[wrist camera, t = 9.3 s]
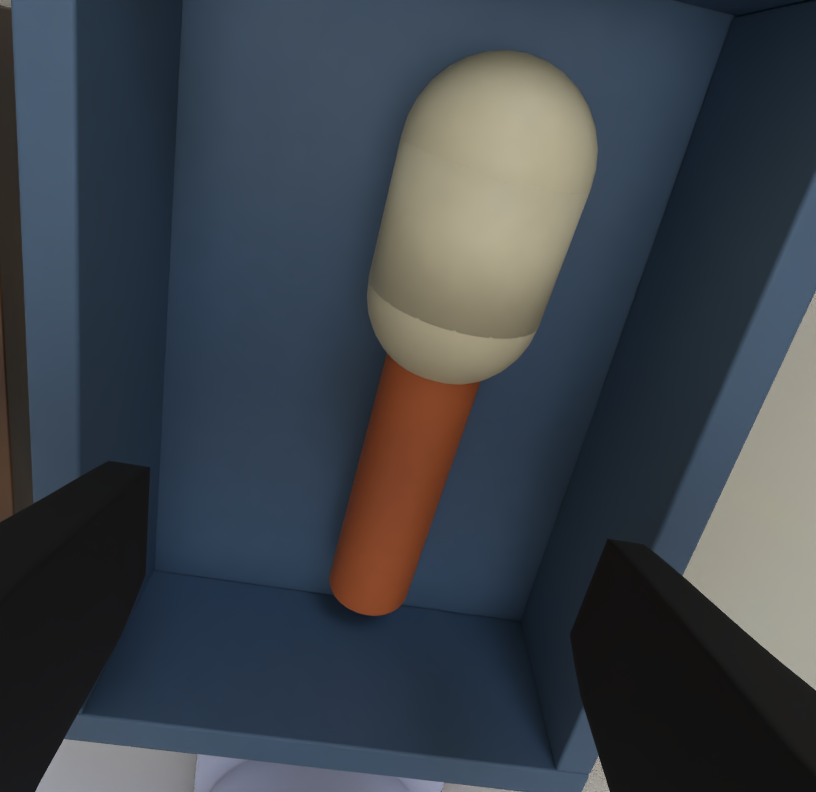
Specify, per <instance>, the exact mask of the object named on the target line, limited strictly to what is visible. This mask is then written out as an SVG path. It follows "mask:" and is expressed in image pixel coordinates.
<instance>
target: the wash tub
mask: <svg viewBox="0 0 816 792" xmlns="http://www.w3.org/2000/svg"><path fill="white" fill-rule="evenodd" d="M11 9H12V32H13V54H14V77H15V100H16V122H17V145H18V167H19V190H20V213H21V235H22V258H23V280H24V303H25V326H26V348H27V371H28V393H29V416H30V439H31V461H32V484H33V503H35V502H37V501H39V500H41V499H42V498H44V497H46V496H48V495H49V494H51V493H53V492H54V491H56V490H58V489H60V488H61V487H63V486H65V485H66V484H68V483H70V482H72V481H73V480H75V479H77V478H78V477H80V476H82V475H84V474H85V473H87V472H89V471H91V470H92V469H94V468H96V467H98V466H100V465H102V464H103V463H105V462H107V461H114V462H120V463H127V464H133V465H140V466H146V467H150V485H149V508H148V531H147V553H146V575H145V578H144V580H143V583H142V585H141V588H140V590H139V593H138V595H137V598H136V601H135V603H134V606H133V608H132V611H131V613H130V615H129V618H128V620H127V623H126V625H125V627H124V630H123V632H122V635H121V637H120V638H119V640H118V642H117V644H116V646H115V648H114V650H113V651H112V653H111V655H110V657H109V659H108V660H107V662H106V664H105V666H104V668H103V670H102V671H101V673H100V675H99V677H98V679H97V680H96V682H95V684H94V686H93V688H92V689H91V691H90V693H89V695H88V697H87V698H86V700H85V702H84V704H83V706H82V707H81V709H80V711H79V713H78V714H77V716H76V718H75V720H74V722H73V723H72V725H71V727H70V729H69V731H68V732H67V734H66V736H65V738H64V739H70V740H79V741H87V742H96V743H105V744H114V745H122V746H131V747H140V748H148V749H157V750H166V751H175V752H183V753H192V754H201V755H209V756H218V757H227V758H235V759H244V760H253V761H262V762H270V763H279V764H288V765H296V766H305V767H314V768H323V769H331V770H340V771H349V772H357V773H366V774H375V775H383V776H392V777H401V778H410V779H418V780H427V781H436V782H444V783H453V784H462V785H470V786H479V787H488V788H497V789H505V790H514V791H523V792H582V790H583V788H584V785H585V783H586V781H587V779H588V776H589V773H590V772H591V770H592V768H593V766H594V764H595V762H596V759H597V757H598V752H597V749H596V746H595V742H594V739H593V736H592V733H591V729H590V726H589V723H588V720H587V716H586V713H585V710H584V706H583V703H582V700H581V696H580V691H579V686H578V681H577V676H576V670H575V665H574V658H573V652H572V645H571V639H570V633H571V630H572V628H573V625H574V622H575V620H576V617H577V615H578V612H579V610H580V607H581V605H582V602H583V600H584V597H585V595H586V592H587V589H588V587H589V584H590V582H591V579H592V577H593V574H594V572H595V569H596V567H597V564H598V561H599V559H600V556H601V554H602V551H603V549H604V546H605V544H606V541H607V539H613V540H620V541H626V542H633V543H639V544H644V545H645V546H647V547H648V548H649V549H651V550H652V551H653V552H655V553H656V554H657V555H658V556H660V557H661V558H662V559H663V560H664V561H666V562H667V563H668V564H669V565H670V566H671V567H673V568H674V569H675V570H676V571H677V572H678V573H679V574H681V575H682V576H683V573H684V571H685V569H686V567H687V565H688V563H689V561H690V558H691V556H692V554H693V552H694V550H695V548H696V546H697V543H698V541H699V539H700V537H701V535H702V533H703V531H704V528H705V526H706V524H707V522H708V520H709V518H710V516H711V514H712V511H713V509H714V507H715V505H716V503H717V501H718V499H719V496H720V494H721V492H722V490H723V488H724V486H725V484H726V481H727V479H728V477H729V475H730V473H731V471H732V469H733V466H734V464H735V462H736V460H737V458H738V456H739V454H740V452H741V449H742V447H743V445H744V443H745V441H746V439H747V437H748V434H749V432H750V430H751V428H752V426H753V424H754V422H755V419H756V417H757V415H758V413H759V411H760V409H761V407H762V404H763V402H764V400H765V398H766V396H767V394H768V392H769V390H770V387H771V385H772V383H773V381H774V379H775V377H776V375H777V372H778V370H779V368H780V366H781V364H782V362H783V360H784V357H785V355H786V353H787V351H788V349H789V347H790V345H791V342H792V340H793V338H794V336H795V334H796V332H797V330H798V327H799V325H800V323H801V321H802V319H803V317H804V315H805V313H806V310H807V308H808V306H809V304H810V302H811V300H812V298H813V295H814V293H815V291H816V0H11ZM497 50H512V51H518V52H524V53H529V54H531V55H534V56H536V57H539V58H541V59H543V60H546V61H548V62H549V63H551V64H552V65H554V66H555V67H556V68H558V69H559V70H561V71H562V72H563V73H565V74H566V75H567V77H568V78H569V79H570V80H571V81H572V82H573V83H574V84H575V85H576V87H577V88H578V89H579V91H580V92H581V94H582V96H583V97H584V99H585V101H586V103H587V104H588V106H589V109H590V112H591V115H592V118H593V121H594V124H595V127H596V136H597V144H598V154H597V167H596V172H595V176H594V179H593V183H592V187H591V190H590V193H589V195H588V198H587V201H586V203H585V206H584V209H583V211H582V214H581V217H580V219H579V222H578V225H577V227H576V230H575V232H574V235H573V238H572V240H571V243H570V246H569V248H568V251H567V254H566V256H565V259H564V262H563V264H562V267H561V270H560V272H559V275H558V277H557V280H556V283H555V285H554V288H553V291H552V293H551V296H550V299H549V301H548V304H547V307H546V309H545V312H544V315H543V317H542V320H541V322H540V325H539V327H538V329H537V331H536V333H535V335H534V337H533V339H532V341H531V343H530V344H529V346H528V347H527V348H526V350H525V351H524V352H523V353H522V355H521V356H520V357H519V358H518V359H517V360H516V361H515V362H513V363H512V364H511V365H510V366H509V367H507V368H506V369H505V370H503V371H502V372H500V373H498V374H496V375H494V376H492V377H490V378H488V379H485V380H483V381H481V382H480V385H479V388H478V391H477V394H476V397H475V400H474V403H473V406H472V408H471V411H470V414H469V417H468V420H467V423H466V426H465V429H464V432H463V435H462V437H461V440H460V443H459V446H458V449H457V452H456V455H455V458H454V461H453V463H452V466H451V469H450V472H449V475H448V478H447V481H446V484H445V487H444V489H443V492H442V495H441V498H440V501H439V504H438V507H437V510H436V513H435V515H434V518H433V521H432V524H431V527H430V530H429V533H428V536H427V539H426V542H425V544H424V547H423V550H422V553H421V556H420V559H419V562H418V565H417V568H416V570H415V573H414V576H413V579H412V582H411V585H410V588H409V591H408V594H407V596H406V599H405V601H404V602H403V604H402V605H401V606H400V607H399V608H397V609H396V610H395V611H393V612H391V613H388V614H385V615H379V616H370V615H364V614H360V613H357V612H354V611H352V610H350V609H348V608H347V607H345V606H344V605H343V604H341V603H340V602H339V601H338V599H337V598H336V597H335V596H334V594H333V592H332V590H331V587H330V583H329V575H330V571H331V567H332V563H333V559H334V555H335V551H336V548H337V544H338V540H339V536H340V532H341V528H342V524H343V521H344V517H345V513H346V509H347V505H348V501H349V497H350V494H351V490H352V486H353V482H354V478H355V474H356V470H357V466H358V463H359V459H360V455H361V451H362V447H363V443H364V439H365V436H366V432H367V428H368V424H369V420H370V416H371V412H372V409H373V405H374V401H375V397H376V393H377V389H378V385H379V382H380V378H381V374H382V370H383V366H384V362H385V358H386V354H387V352H386V351H385V350H384V348H383V347H382V345H381V343H380V342H379V340H378V338H377V337H376V335H375V332H374V330H373V327H372V324H371V321H370V317H369V314H368V305H367V289H368V281H369V273H370V269H371V265H372V260H373V256H374V252H375V247H376V243H377V238H378V234H379V230H380V225H381V221H382V217H383V212H384V208H385V204H386V199H387V195H388V190H389V186H390V182H391V177H392V173H393V169H394V164H395V160H396V156H397V151H398V147H399V142H400V138H401V134H402V131H403V128H404V125H405V122H406V119H407V116H408V113H409V112H410V110H411V108H412V106H413V104H414V103H415V101H416V99H417V97H418V96H419V94H420V93H421V92H422V91H423V90H424V88H425V87H426V86H427V85H428V84H429V82H430V81H431V80H432V79H433V78H435V77H436V76H437V75H438V74H439V73H441V72H442V71H443V70H444V69H446V68H447V67H448V66H450V65H452V64H454V63H456V62H458V61H460V60H462V59H463V58H465V57H468V56H471V55H475V54H478V53H482V52H486V51H497Z"/></svg>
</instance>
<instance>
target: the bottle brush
mask: <svg viewBox="0 0 816 792" xmlns="http://www.w3.org/2000/svg"><path fill="white" fill-rule="evenodd" d="M597 154H598V144H597V136H596V127H595V124H594V121H593V118H592V115H591V112H590V109H589V106H588V104H587V103H586V101H585V99H584V97H583V96H582V94H581V92H580V91H579V89H578V88H577V87H576V85H575V84H574V83H573V82H572V81H571V80H570V79H569V78H568V77H567V75H566V74H565V73H563V72H562V71H561V70H559V69H558V68H556V67H555V66H554V65H552V64H551V63H549V62H548V61H546V60H543V59H541V58H539V57H536V56H534V55H531V54H529V53H524V52H518V51H512V50H497V51H486V52H482V53H478V54H475V55H471V56H468V57H465V58H463V59H462V60H460V61H458V62H456V63H454V64H452V65H450V66H448V67H447V68H446V69H444V70H443V71H442V72H441V73H439V74H438V75H437V76H436V77H435V78H433V79H432V80H431V81H430V82H429V84H428V85H427V86H426V87H425V88H424V90H423V91H422V92H421V93H420V94H419V96H418V97H417V99H416V101H415V103H414V104H413V106H412V108H411V110H410V112H409V113H408V116H407V119H406V122H405V125H404V128H403V131H402V134H401V138H400V142H399V147H398V151H397V156H396V160H395V164H394V169H393V173H392V177H391V182H390V186H389V190H388V195H387V199H386V204H385V208H384V212H383V217H382V221H381V225H380V230H379V234H378V238H377V243H376V247H375V252H374V256H373V260H372V265H371V269H370V273H369V281H368V289H367V305H368V314H369V317H370V321H371V324H372V327H373V330H374V332H375V335H376V337H377V338H378V340H379V342H380V343H381V345H382V347H383V348H384V350H385V351H386V352H387V354H386V358H385V362H384V366H383V370H382V374H381V378H380V382H379V385H378V389H377V393H376V397H375V401H374V405H373V409H372V412H371V416H370V420H369V424H368V428H367V432H366V436H365V439H364V443H363V447H362V451H361V455H360V459H359V463H358V466H357V470H356V474H355V478H354V482H353V486H352V490H351V494H350V497H349V501H348V505H347V509H346V513H345V517H344V521H343V524H342V528H341V532H340V536H339V540H338V544H337V548H336V551H335V555H334V559H333V563H332V567H331V571H330V575H329V583H330V587H331V590H332V592H333V594H334V596H335V597H336V598H337V599H338V601H339V602H340V603H341V604H343V605H344V606H345V607H347V608H348V609H350V610H352V611H354V612H357V613H360V614H364V615H370V616H379V615H385V614H388V613H391V612H393V611H395V610H396V609H397V608H399V607H400V606H401V605H402V604H403V602H404V601H405V599H406V596H407V594H408V591H409V588H410V585H411V582H412V579H413V576H414V573H415V570H416V568H417V565H418V562H419V559H420V556H421V553H422V550H423V547H424V544H425V542H426V539H427V536H428V533H429V530H430V527H431V524H432V521H433V518H434V515H435V513H436V510H437V507H438V504H439V501H440V498H441V495H442V492H443V489H444V487H445V484H446V481H447V478H448V475H449V472H450V469H451V466H452V463H453V461H454V458H455V455H456V452H457V449H458V446H459V443H460V440H461V437H462V435H463V432H464V429H465V426H466V423H467V420H468V417H469V414H470V411H471V408H472V406H473V403H474V400H475V397H476V394H477V391H478V388H479V385H480V382H481V381H483V380H485V379H488V378H490V377H492V376H494V375H496V374H498V373H500V372H502V371H503V370H505V369H506V368H507V367H509V366H510V365H511V364H512V363H513V362H515V361H516V360H517V359H518V358H519V357H520V356H521V355H522V353H523V352H524V351H525V350H526V348H527V347H528V346H529V344H530V343H531V341H532V339H533V337H534V335H535V333H536V331H537V329H538V327H539V325H540V322H541V320H542V317H543V315H544V312H545V309H546V307H547V304H548V301H549V299H550V296H551V293H552V291H553V288H554V285H555V283H556V280H557V277H558V275H559V272H560V270H561V267H562V264H563V262H564V259H565V256H566V254H567V251H568V248H569V246H570V243H571V240H572V238H573V235H574V232H575V230H576V227H577V225H578V222H579V219H580V217H581V214H582V211H583V209H584V206H585V203H586V201H587V198H588V195H589V193H590V190H591V187H592V183H593V179H594V176H595V172H596V167H597Z"/></svg>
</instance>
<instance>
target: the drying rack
mask: <svg viewBox="0 0 816 792" xmlns="http://www.w3.org/2000/svg"><path fill="white" fill-rule="evenodd" d="M32 504H33V484H32V461H31V439H30V416H29V393H28V371H27V348H26V326H25V303H24V280H23V258H22V235H21V213H20V190H19V167H18V145H17V122H16V100H15V77H14V54H13V32H12V9H11V8H9V7H4V6H0V522H1V521H3V520H5V519H7V518H9V517H10V516H12V515H14V514H16V513H17V512H19V511H21V510H23V509H25V508H26V507H28V506H30V505H32Z"/></svg>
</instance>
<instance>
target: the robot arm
mask: <svg viewBox="0 0 816 792" xmlns="http://www.w3.org/2000/svg"><path fill="white" fill-rule="evenodd" d="M149 485H150V467H146V466H140V465H133V464H127V463H120V462H114V461H107V462H105V463H103V464H102V465H100V466H98V467H96V468H94V469H92V470H91V471H89V472H87V473H85V474H84V475H82V476H80V477H78V478H77V479H75V480H73V481H72V482H70V483H68V484H66V485H65V486H63V487H61V488H60V489H58V490H56V491H54V492H53V493H51V494H49V495H48V496H46V497H44V498H42V499H41V500H39V501H37V502H35V503H33V504H32V505H30V506H28V507H26V508H25V509H23V510H21V511H19V512H17V513H16V514H14V515H12V516H10V517H9V518H7V519H5V520H3V521H1V522H0V792H35V791H36V789H37V787H38V785H39V783H40V781H41V779H42V777H43V775H44V774H45V772H46V770H47V768H48V766H49V765H50V763H51V761H52V759H53V757H54V756H55V754H56V752H57V750H58V748H59V747H60V745H61V743H62V741H63V740H64V738H65V736H66V734H67V732H68V731H69V729H70V727H71V725H72V723H73V722H74V720H75V718H76V716H77V714H78V713H79V711H80V709H81V707H82V706H83V704H84V702H85V700H86V698H87V697H88V695H89V693H90V691H91V689H92V688H93V686H94V684H95V682H96V680H97V679H98V677H99V675H100V673H101V671H102V670H103V668H104V666H105V664H106V662H107V660H108V659H109V657H110V655H111V653H112V651H113V650H114V648H115V646H116V644H117V642H118V640H119V638H120V637H121V635H122V632H123V630H124V627H125V625H126V623H127V620H128V618H129V615H130V613H131V611H132V608H133V606H134V603H135V601H136V598H137V595H138V593H139V590H140V588H141V585H142V583H143V580H144V578H145V575H146V553H147V531H148V508H149ZM570 639H571V645H572V652H573V658H574V665H575V670H576V676H577V681H578V686H579V691H580V696H581V700H582V703H583V706H584V710H585V713H586V716H587V720H588V723H589V726H590V729H591V733H592V736H593V739H594V742H595V746H596V749H597V752H598V755H599V758H600V761H601V765H602V768H603V771H604V774H605V777H606V780H607V784H608V787H609V790H610V792H816V690H814V689H813V688H812V687H811V686H809V685H808V684H807V683H806V682H805V681H803V680H802V679H801V678H800V677H798V676H797V675H796V674H795V673H793V672H792V671H791V670H790V669H788V668H787V667H786V666H785V665H784V664H782V663H781V662H780V661H779V660H778V659H776V658H775V657H774V656H773V655H772V654H770V653H769V652H768V651H767V650H766V649H765V648H763V647H762V646H761V645H760V644H759V643H758V642H756V641H755V640H754V639H753V638H752V637H751V636H749V635H748V634H747V633H746V632H745V631H744V630H743V629H741V628H740V627H739V626H738V625H737V624H736V623H735V622H733V621H732V620H731V619H730V618H729V617H728V616H727V615H726V614H724V613H723V612H722V611H721V610H720V609H719V608H718V607H717V606H715V605H714V604H713V603H712V602H711V601H710V600H709V599H708V598H706V597H705V596H704V595H703V594H702V593H701V592H700V591H699V590H698V589H696V588H695V587H694V586H693V585H692V584H691V583H690V582H689V581H687V580H686V579H685V578H684V577H683V576H682V575H681V574H679V573H678V572H677V571H676V570H675V569H674V568H673V567H671V566H670V565H669V564H668V563H667V562H666V561H664V560H663V559H662V558H661V557H660V556H658V555H657V554H656V553H655V552H653V551H652V550H651V549H649V548H648V547H647V546H645V545H644V544H639V543H633V542H626V541H620V540H613V539H607V541H606V544H605V546H604V549H603V551H602V554H601V556H600V559H599V561H598V564H597V567H596V569H595V572H594V574H593V577H592V579H591V582H590V584H589V587H588V589H587V592H586V595H585V597H584V600H583V602H582V605H581V607H580V610H579V612H578V615H577V617H576V620H575V622H574V625H573V628H572V630H571V633H570ZM443 785H444V782H436V781H427V780H418V779H410V778H401V777H392V776H383V775H375V774H366V773H357V772H349V771H340V770H331V769H323V768H314V767H305V766H296V765H288V764H279V763H270V762H262V761H253V760H244V759H235V758H227V757H218V756H209V755H201V754H197V761H196V771H195V781H194V792H441V791H442V788H443Z"/></svg>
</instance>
